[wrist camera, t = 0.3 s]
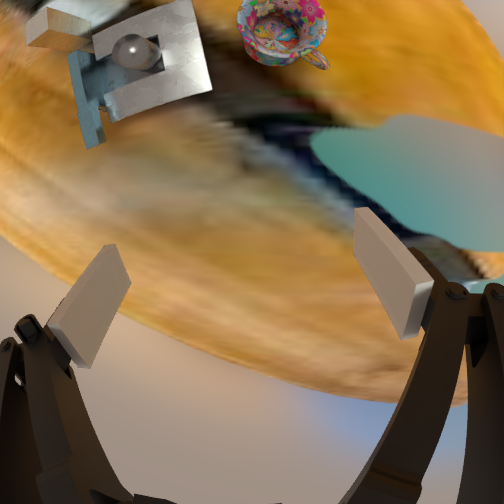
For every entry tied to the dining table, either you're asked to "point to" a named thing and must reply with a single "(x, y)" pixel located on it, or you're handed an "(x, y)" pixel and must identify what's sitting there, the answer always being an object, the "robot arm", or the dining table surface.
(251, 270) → the dining table surface
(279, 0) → the mug
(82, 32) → the grey rectangular block
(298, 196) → the dining table surface
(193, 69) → the notched panel with ball
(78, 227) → the dining table surface
